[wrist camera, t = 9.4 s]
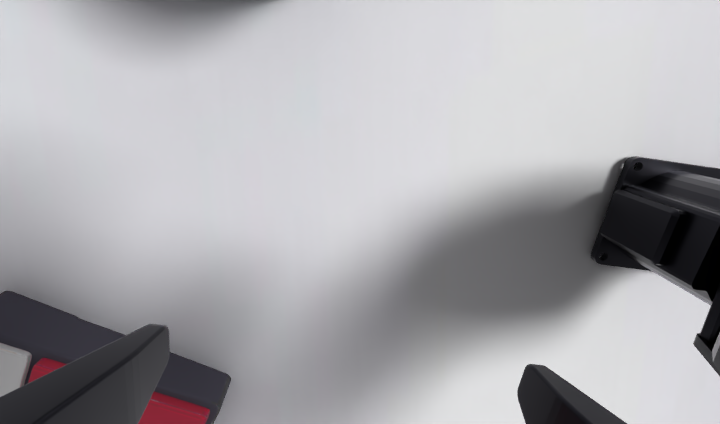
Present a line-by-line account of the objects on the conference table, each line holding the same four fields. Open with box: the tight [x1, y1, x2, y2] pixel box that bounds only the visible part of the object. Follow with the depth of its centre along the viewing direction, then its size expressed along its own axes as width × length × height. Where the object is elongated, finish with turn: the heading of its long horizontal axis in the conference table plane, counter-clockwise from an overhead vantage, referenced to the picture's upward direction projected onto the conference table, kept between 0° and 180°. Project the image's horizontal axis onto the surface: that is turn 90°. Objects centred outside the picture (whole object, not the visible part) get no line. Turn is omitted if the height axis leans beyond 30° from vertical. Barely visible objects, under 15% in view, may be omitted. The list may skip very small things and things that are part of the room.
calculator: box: [0, 291, 231, 424], centre depth 23 cm, size 11×4×15 cm
